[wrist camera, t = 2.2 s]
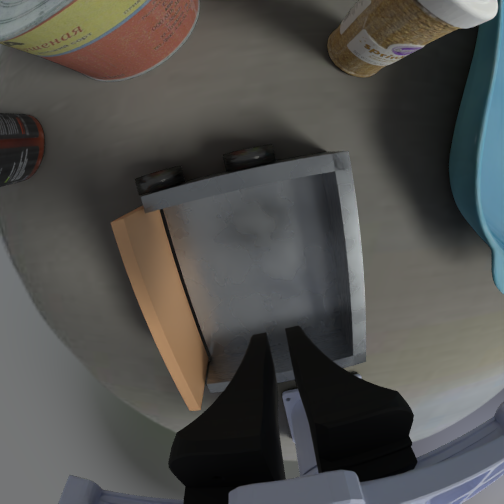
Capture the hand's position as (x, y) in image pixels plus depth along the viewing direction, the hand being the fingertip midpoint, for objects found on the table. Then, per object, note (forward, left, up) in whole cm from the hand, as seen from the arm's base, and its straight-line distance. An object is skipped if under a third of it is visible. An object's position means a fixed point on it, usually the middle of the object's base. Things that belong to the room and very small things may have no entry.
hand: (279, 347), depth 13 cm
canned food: (+22, +6, -10) cm, 25 cm away
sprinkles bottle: (+15, -10, -10) cm, 21 cm away
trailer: (0, 0, -10) cm, 10 cm away
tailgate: (0, +7, -9) cm, 12 cm away
